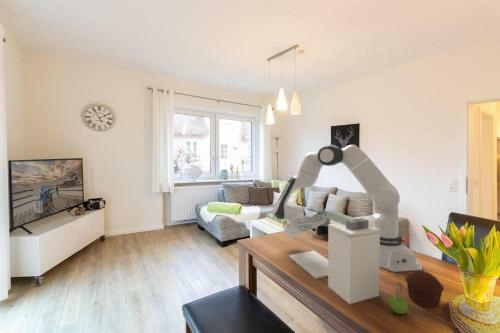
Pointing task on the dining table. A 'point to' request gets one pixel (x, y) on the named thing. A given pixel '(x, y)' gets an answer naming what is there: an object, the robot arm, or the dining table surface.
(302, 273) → the dining table surface
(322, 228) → the milk frother
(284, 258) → the dining table surface
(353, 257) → the tall white box
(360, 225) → the t-shaped bar
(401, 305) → the green rounded piece
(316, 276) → the mat
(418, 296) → the muffin
